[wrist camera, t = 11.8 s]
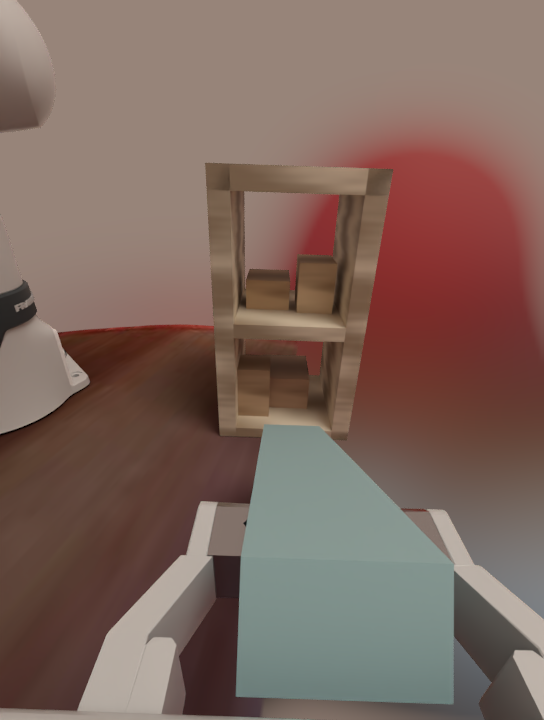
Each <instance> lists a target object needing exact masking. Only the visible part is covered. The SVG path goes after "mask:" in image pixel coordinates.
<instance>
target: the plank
mask: <svg viewBox="0 0 544 720" xmlns="http://www.w3.org/2000/svg"><path fill="white" fill-rule="evenodd" d="M453 671H454V563H453V562H452V561H451V560H450V559H449V558H448V557H447V556H446V555H445V554H444V553H443V552H442V551H441V550H440V549H439V548H438V547H437V546H436V545H435V544H434V543H433V542H432V541H431V540H430V539H429V538H428V537H427V536H426V535H425V534H424V533H423V532H422V531H421V530H420V529H419V528H418V527H417V526H416V525H415V524H414V523H413V521H412V520H411V519H410V518H409V517H408V516H407V515H406V514H405V513H404V512H403V511H402V510H401V509H400V508H399V507H398V506H397V505H396V504H395V503H394V502H393V501H392V500H391V499H390V498H389V497H388V496H387V495H386V494H385V493H384V492H383V491H382V490H381V489H380V488H379V487H378V486H377V485H376V484H375V483H374V482H373V481H372V479H371V478H370V477H369V476H367V474H366V473H365V472H364V471H363V470H362V469H361V468H360V467H359V466H358V465H357V464H356V463H355V462H354V461H353V460H352V459H351V458H350V457H349V456H348V455H347V454H346V453H345V452H344V451H343V450H342V449H341V448H340V447H339V446H338V445H337V444H336V443H335V442H334V441H333V440H332V439H331V438H330V436H329V435H328V434H327V433H326V432H325V431H324V430H323V429H322V428H321V427H320V426H300V425H270V424H264V428H263V433H262V439H261V445H260V450H259V456H258V462H257V467H256V473H255V479H254V485H253V490H252V496H251V502H250V507H249V513H248V519H247V524H246V530H245V536H244V542H243V547H242V553H241V566H240V593H239V621H238V648H237V676H236V697H258V698H286V699H317V700H344V701H375V702H402V703H403V702H404V703H431V704H433V703H434V704H454V699H453V698H454V697H453V696H454V695H453V694H454V691H453V690H454V688H453V687H454V685H453V684H454V680H453V679H454V676H453V675H454V672H453Z"/></svg>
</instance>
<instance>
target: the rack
mask: <svg viewBox="0 0 544 720" xmlns="http://www.w3.org/2000/svg"><path fill="white" fill-rule="evenodd" d="M205 166H206V186H207V204H208V223H209V242H210V261H211V280H212V298H213V316H214V337H215V355H216V374H217V393H218V412H219V431H220V436H238V437H262V433H263V428H264V424H270V425H300V426H320V427H321V428H322V429H323V430H324V431H325V432H326V433H327V434H328V435H329V436H330V438H331V439H332V440H347V436H348V430H349V424H350V418H351V412H352V406H353V400H354V394H355V389H356V383H357V377H358V371H359V366H360V360H361V354H362V348H363V342H364V336H365V331H366V325H367V319H368V313H369V307H370V301H371V296H372V290H373V284H374V278H375V272H376V265H377V260H378V254H379V249H380V243H381V236H382V231H383V225H384V220H385V213H386V208H387V202H388V196H389V190H390V185H391V178H392V173H393V169H370V168H341V167H340V168H339V167H310V166H282V165H281V166H279V165H253V164H222V163H205ZM244 191H253V192H281V193H312V194H313V193H314V194H340V196H339V206H338V214H337V223H336V232H335V242H334V250H333V257H332V256H328V255H299V254H298V256H297V271H296V287H295V291H292V290H290V278H289V270H263V269H250V270H249V273H248V276H247V279H246V289H245V247H244V246H245V240H244V239H245V235H244V234H245V232H244ZM245 339H267V340H296V341H323V349H322V358H321V367H320V376H316V375H315V376H313V375H309V374H308V368H307V361H306V356H291V355H245Z"/></svg>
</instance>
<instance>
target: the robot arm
mask: <svg viewBox="0 0 544 720" xmlns="http://www.w3.org/2000/svg"><path fill="white" fill-rule="evenodd" d="M55 91H56V85H55V74H54V69H53V65H52V61H51V58H50V55H49V52H48V49H47V47H46V45H45V42H44V40H43V38H42V36H41V35H40V33H39V31H38V29H37V28H36V26H35V24H34V23H33V21H32V19H31V18H30V17H29V15H28V14H27V13H26V11H25V10H24V9H23V8H22V6H21V5H20V4H19V3H18V1H17V0H0V133H4V132H14V131H20V130H28V129H35V128H40V127H41V126H43V124H44V123H45V122H46V120H47V119H48V117H49V116H50V113H51V111H52V108H53V105H54V99H55ZM36 312H37V309H36V306H35V303H34V297H33V294H32V292H31V291H30V289H29V286H28V283H27V282H26V281H24V280H23V279H22V278H21V274H20V272H19V268H18V265H17V262H16V259H15V255H14V252H13V249H12V246H11V242H10V240H9V236H8V233H7V230H6V227H5V224H4V220H3V218H2V216H1V214H0V434H1V433H5V432H8V431H11V430H14V429H17V428H20V427H23V426H25V425H27V424H30V423H32V422H34V421H36V420H38V419H40V418H42V417H44V416H46V415H47V414H49V413H51V412H52V411H54V410H55V409H56V408H58V407H59V406H60V405H61V404H62V403H63V402H64V401H65V400H66V399H67V398H68V397H70V396H71V395H72V394H73V393H75V392H77V391H79V390H81V389H83V388H84V387H86V386H87V385H89V383H90V380H89V378H88V375H87V374H86V373H85V372H84V371H83V370H82V369H81V368H80V367H79V366H78V365H77V364H76V363H75V361H74V360H73V359H72V358H71V357H70V356H69V355H68V354H67V353H66V351H65V350H64V349H63V348H62V345H61V342H60V339H59V336H58V333H57V330H56V329H53V328H51V326H50V325H49V324H47V323H45V322H43V321H42V320H41V319H40V318H39V317H38V316H37V315H36ZM249 507H250V504H242V503H226V502H206V501H201V502H200V504H199V506H198V510H197V514H196V518H195V522H194V526H193V530H192V533H191V537H190V541H189V545H188V549H187V553H186V555H180V556H179V557H178V559H177V560H176V561H175V562H174V563H173V564H172V565H171V566H170V567H169V568H168V569H167V570H166V571H165V572H164V573H163V574H162V576H161V577H160V578H159V579H158V580H157V581H156V582H155V583H154V584H153V585H152V586H151V587H150V588H149V589H148V590H147V592H146V593H145V594H144V595H143V596H142V597H141V598H140V599H139V600H138V601H137V602H136V603H135V604H134V605H133V606H132V607H131V609H130V610H129V611H128V612H127V613H126V614H125V615H124V616H123V617H122V618H121V619H120V620H119V621H118V622H117V623H116V624H115V626H114V627H113V628H112V629H111V630H110V631H109V632H108V633H107V635H106V638H105V640H104V643H103V646H102V648H101V651H100V653H99V656H98V658H97V661H96V663H95V666H94V669H93V671H92V674H91V676H90V679H89V681H88V684H87V687H86V689H85V692H84V694H83V697H82V699H81V702H80V704H79V707H78V710H77V711H68V710H40V709H13V708H0V720H313V719H286V718H285V719H284V718H259V717H231V716H204V715H182V714H183V708H184V702H185V696H186V691H185V686H184V681H183V676H182V671H181V666H180V661H179V655H180V654H181V652H182V651H183V649H184V648H185V646H186V645H187V643H188V642H189V640H190V639H191V637H192V636H193V634H194V633H195V631H196V630H197V628H198V627H199V625H200V623H201V622H202V620H203V619H204V617H205V616H206V614H207V613H208V611H209V610H210V608H211V607H212V605H213V604H214V602H215V601H216V598H239V593H240V566H241V553H242V547H243V542H244V536H245V530H246V524H247V519H248V513H249ZM400 509H401V510H402V511H403V512H404V513H405V514H406V515H407V516H408V517H409V518H410V519H411V520H412V521H413V523H414V524H415V525H416V526H417V527H418V528H419V529H420V530H421V531H422V532H423V533H424V534H425V535H426V536H427V537H428V538H429V539H430V540H431V541H432V542H433V543H434V544H435V545H436V546H437V547H438V548H439V549H440V550H441V551H442V552H443V553H444V554H445V555H446V556H447V557H448V558H449V559H450V560H451V561H452V562H453V563H454V637H455V638H456V639H457V641H458V642H459V643H460V644H461V645H462V647H463V648H464V649H465V650H466V652H467V653H468V654H469V655H470V656H471V658H472V659H473V660H474V661H475V662H476V664H477V665H478V666H479V668H480V669H481V670H482V671H483V672H484V674H485V675H486V676H487V677H488V679H489V680H490V681H491V682H492V683H491V684H490V686H489V687H488V689H487V690H486V692H485V693H484V694H483V696H482V697H481V700H480V702H479V706H480V709H481V711H482V714H483V717H484V719H485V720H544V620H543V619H542V618H541V617H540V616H539V615H538V614H536V613H535V612H534V611H533V610H532V609H531V608H529V607H528V606H527V605H526V604H525V603H524V602H522V601H521V600H520V599H519V598H518V597H516V596H515V595H514V594H513V593H512V592H511V591H509V590H508V589H507V588H506V587H505V586H504V585H502V584H501V583H500V582H499V581H498V580H497V579H495V578H494V577H493V576H491V574H489V573H488V572H487V571H486V570H484V568H482V567H481V566H476V565H474V563H473V561H472V559H471V558H470V555H469V554H468V552H467V550H466V548H465V546H464V544H463V542H462V540H461V539H460V537H459V535H458V533H457V531H456V529H455V527H454V525H453V523H452V522H451V519H450V518H449V516H448V514H447V513H446V512H445V511H444V510H433V509H432V510H431V509H407V508H405V509H404V508H400Z"/></svg>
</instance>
